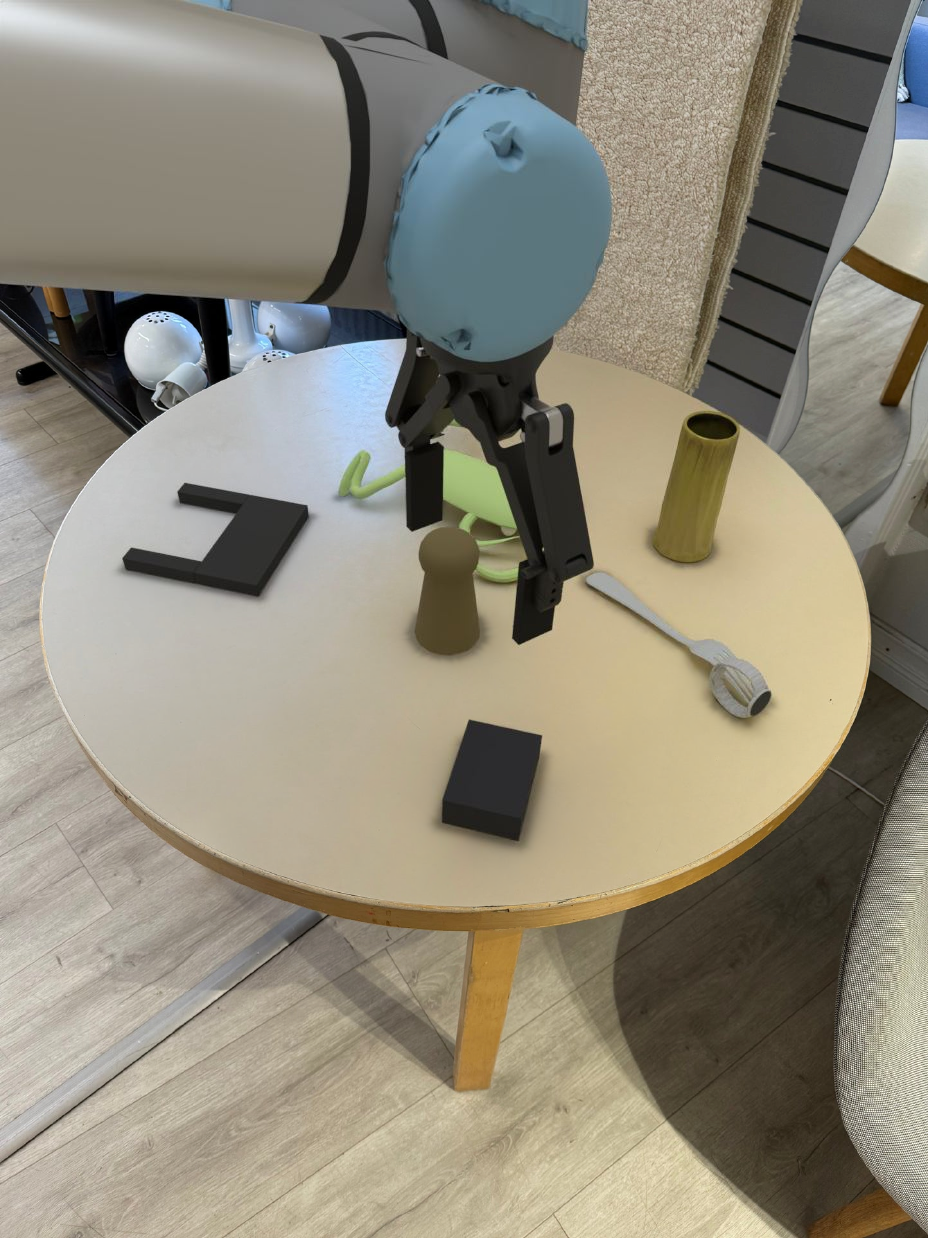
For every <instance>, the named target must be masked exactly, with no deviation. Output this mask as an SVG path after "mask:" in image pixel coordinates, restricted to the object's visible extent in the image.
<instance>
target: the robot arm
mask: <svg viewBox="0 0 928 1238" xmlns="http://www.w3.org/2000/svg"><path fill="white" fill-rule="evenodd" d="M588 14H589V0H0V285H1V284H3V285H15V286H31V287H32V286H33V287H43V288H44V287H46V288H59V289H61V288H62V289H72V290H73V289H76V290H91V291H102V292H103V291H104V292H105V291H106V292H120V293H133V294H134V293H135V294H136V293H137V294H149V295H161V296H162V295H163V296H177V297H178V296H179V297H192V298H193V297H194V298H206V299H207V298H208V299H209V298H210V299H221V300H226V299H227V300H238V301H252V302H266V303H267V302H268V303H281V304H282V303H283V304H296V305H297V304H299V305H311V306H320V307H321V306H323V307H331V308H332V307H333V308H334V307H335V308H342V309H353V310H365V311H366V310H367V311H380V312H381V311H382V312H385V313H386V312H387V313H392V314H394V315H396V316H398V318H399V321H400V322H401V323H402V324H403V326H405V327H406V341H405V351H404V355H403V358H402V360H401V364H400V366H399V370H398V373H397V376H396V379H395V382H394V385H393V388H392V391H391V394H390V397H389V401H388V404H387V406H386V410H385V412H384V418H385V419H384V420H385V423H386V424H387V425H388V427H389V428H390V429H392V428H397V430H398V433H397V437H398V441H399V443H400V446H401V447H402V448H404V465H405V477H404V478H405V519H406V523H405V525H406V528H407V529H408V530H409V531H410V532H411V533H413V532H416V531H418V530H421V529H424V528H426V527H429V526H431V525H434V524H437V523H439V522H442V521H443V520H444V499H443V470H444V449H445V446H444V445H443V444H442V443H441V442H440V441H435V442H432V443H431V441H432V440H434V439H436V438H440V437H443V436H445V433H443V432H444V430H445V429H446V428H447V427H449V426H448V425H449V424H450V423H451V422H452V421H453V420H454V419H455V421H456V422H457V423H458V424H459V425H460V426H462V427H461V428H463V427H464V429H467V430H468V431H469V432H470V433H471V435H472V436H473V437H474V439H475V440H477V441H478V442H479V444H480V447H481V449H482V453H483V456H484V458H485V462H486V463H488V464H489V465H492V466H494V467H496V469H497V471H498V474H499V477H500V480H501V483H502V486H503V489H504V491H505V494H506V497H507V500H508V503H509V506H510V509H511V512H512V515H513V518H514V521H515V524H516V527H517V530H516V531H517V533H518V536H520V538H519V539H520V542H521V544H522V547H523V550H524V553H525V556H526V559H524V560H521V561H519V562H518V567H519V568H518V579H517V580H516V589H515V600H514V601H515V602H514V611H513V621H512V623H513V624H512V633H511V639H512V640H513V641H514V642H515V643H516V644H517V646H520V645H522V644H525V643H527V642H529V641H531V640H533V639H536V638H538V637H540V636H542V635H544V634H547V633H549V632H551V631H553V626H554V617H555V610H556V607H557V606H558V605H559V604H560V603H561V601H562V597H563V591H564V590H563V589H564V583H565V582H566V581H568V580H570V579H573V578H575V577H578V576H580V575H582V574H584V573H587V572H589V571H591V570H592V569H594V565H595V562H594V555H593V551H592V545H591V539H590V534H589V528H588V523H587V522H588V521H587V517H586V512H585V511H586V510H585V506H584V505H585V504H584V502H583V501H584V499H583V494H582V489H581V484H580V478H579V472H578V467H577V460H576V455H575V449H574V432H575V413H574V410H573V408H572V406H571V404H569V403H567V402H564V403H561V404H558V405H555V406H550V405H549V404H547V403H545V401H542V400H541V399H540V396H539V392H538V391H539V390H538V386H537V378H536V377H537V372H538V370H539V369H540V366H541V365H542V363H543V362H544V361H545V359H546V358H547V357H548V355H549V354H550V352H551V351H552V348H553V345H554V340H555V339H554V337H555V335H556V334H558V332H559V331H560V330H561V329H562V328H564V326H566V324H567V323H568V322H569V321H570V320H571V319H572V318H573V317H574V315H576V313H577V311H578V310H579V309H580V308H581V306H582V305H583V304H584V302H585V301H586V299H587V297H588V296H589V295H590V292H591V291H592V289H593V287H594V285H595V282H596V279H597V276H598V273H599V270H600V268H601V266H602V265H603V263H604V257H605V251H606V249H607V248H608V245H609V240H610V237H611V230H612V220H613V203H612V200H613V199H612V193H611V185H610V182H609V177H608V174H607V170H606V168H605V166H604V164H603V163H604V162H603V161H602V158H601V156H600V154H599V153H598V151H597V150H596V148H595V146H594V145H593V143H592V142H591V140H590V139H589V138H588V137H587V136H586V135H585V134H584V132H582V131H581V130H580V129H579V127H577V120H578V119H577V118H578V111H579V103H580V94H581V87H582V77H583V70H584V63H585V62H584V61H585V53H586V52H588V46H589V41H588V37H587V28H588ZM519 431H521V432H520V434H519V438H520V440H521V442H518V443H516V444H512V445H510V446H506V447H503V446H501V444H500V442H502V441H505V440H507V439H511V438H513V437H514V436H515V435H516V434H517V433H518V432H519ZM543 548H544V551H543Z"/></svg>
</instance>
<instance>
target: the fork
mask: <svg viewBox="0 0 928 1238" xmlns="http://www.w3.org/2000/svg"><path fill="white" fill-rule="evenodd" d="M585 582H586V584H587V585H588V586H591V587H592V588H594V589H596V590H597V591H599V592H601V593H603V594H604V595H606V596H609V598H611V599H613V600H614V601H616V602H618V603H620V604H622V605H623V606H625V607H627V608H628V609H630V610H631V611H633V612H634V613H636V614H637V615H639V616H641V617H642V618H644V619H646V620H647V621H649V622H650V623H651V624H653V625H654V626H655V627H657V628H658V629H660V630H661V631H662V632H664V633H666V635H668V636H670V637H672V638H673V639H675V640H676V641H678V642H679V643H681V644H684V645H686V646H688V648H689V649H690V650H689V651H690V652H691V653H692V654H693V655H696V656H698V657H699V658H702V659H704V660H705V661H706V662H708V663H710V664H711V665H712V666H713V667H714V665H716V664H717V663H719V662H721V661H722V660H724V659H725V658H727V657H736V658H738V657H737V655H735V653H733V651H732V650H731V648H729V647H728V646H727V645H726V644H724V643H722V642H721V641H718V640H715V639H713V638H712V639H711V638H710V639H709V638H707V639H701V640H694V639H691V638H688V637H686V636H685V635H683V634H681V633H680V632H678V631H677V630H676V629H674V628H673V627H672V626H670V625H669V624H668V623H667V622H665V621H664V620H663V619H662V618H660V617H659V616H657V615H656V614H655V613H654V612H653V611H652V610H651V609H649V608H648V607H647V606H646V605H645V604H644V603H643V602H641V600H639V599H638V598H637V597H636V595H634V594H633V593H632V592H631V591H630V590H629V589H628V588H627V587H625V585H623V584H622V583H621V582H620V581H618V580H617V579H616V578H615V577H613V576H611V575H610V574H607V573H606V572H600V571H599V572H593V573H592V574H591V575H588V576H587V577H586V578H585ZM722 677H724V678H725V679H726V680H727V682H728V683H729V684H730V685H731V686H732V687H733V688H734V689H735V691H736V692H737V693H738V694H739V695H740V696H741V697H742V698H743V700H744V701H745V702H746V703H747V705H749V703H750V700H751V699H752V696H753V691H754V689H753V687H752V685H751V683H750V682H749V680H748V679H747V678H746V676H744V675H743V674H742V673H740V671H737V670H736V669H734V668H731V667H727V666H726V671H725V673H723V675H722ZM745 685H746V686H745ZM741 689H742V690H743V691H744V692H743V691H742V690H741ZM749 690H750V691H749ZM750 692H751V693H752V694H751V693H750ZM744 693H746V695H747V696H748V697H749V698H750V700H749V699H748V698H747V696H746V695H745V694H744Z"/></svg>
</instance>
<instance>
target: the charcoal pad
mask: <svg viewBox="0 0 928 1238" xmlns="http://www.w3.org/2000/svg"><path fill="white" fill-rule="evenodd" d="M542 741H543V735H542V734H538V733H535V732H534V733H533V732H529V731H524V730H519V729H515V728H510V727H506V726H502V725H501V726H500V725H498V724H497V725H496V724H492V723H488V722H483V721H479V720H473V719H468V721H467V724H466V726H465V730H464V733H463V736H462V739H461V742H460V745H459V748H458V751H457V754H456V757H455V759H454V764H453V765H452V769H451V772H450V775H449V778H448V781H447V784H446V787H445V791H444V794H443V796H442V799H441V802H442V803H441V805H442V806H441V823H442V824H446V825H450V826H455V827H458V828H463V829H466V830H470V831H471V830H472V831H476V832H480V833H484V834H488V835H493V836H496V837H500V838H505V839H509V840H514V841H520V838H521V835H522V829H523V825H524V821H525V818H526V813H527V809H528V805H529V801H530V797H531V792H532V789H533V785H534V781H535V777H536V773H537V768H538V765H539V761H540V754H541V749H542V748H541V747H542Z"/></svg>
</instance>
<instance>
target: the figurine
mask: <svg viewBox="0 0 928 1238" xmlns="http://www.w3.org/2000/svg"><path fill="white" fill-rule="evenodd" d="M447 427H457V428H464V427H462V426H460V425H459V424H458V423H457V422H456V421H455V419H454V420H453V421H452V422H451V423H450V424H449V425H448V426H447ZM464 429H465V428H464ZM371 458H372V457H371V454H370V453H369V452H368V451H366V450H364V449H361V450H360V451H358V453H357V454H356V455H355V456H354V457H353V458H352V460H351V461H350V462H349V464H348V466H347V468H346V469H345V471H344V473H343V475H342V478H341V480H340V484H339V487H338V494H339V496H341V497H346V496H347V495H349V494H348V493H349V492H350V495H351V496H352V497H354V498H356V499H357V500H363V499H366V498H370V496H372V495H374V494H376V493H378V492H379V491H382V490H384V489H386V488H388V487H390V486H392V485H394V484H395V483H398V482H399V481H401V480H402V479H404V478H405V464H402V465H400V466H399V467H397V468H395V470H393V471H391V472H389V473H387V474H385V475H383V476H381V477H378V478H376V479H375V480H373V481H371V482H369V483H368V484H365V485H364V486H362V480H363V478H364V475H365V473H366V472H367V471H366V470H367V468H368V466H369V464H370V461H371V460H372V459H371ZM443 501H444V502H447V504H449V505H451V506H453V507H454V508H457V509H458V510H461V511H463V512H465V513H466V514H465V515H464V516H463V518H462V520H461V521H460V522H459V524H458V528H460V529H463V530H465V531H467V532H468V533H470V534H471V527H472V525H473V524H474V523H475V522H476V521H477V520H478V519H480V520H482V521H485V522H488V523H491V524H493V525H496V526H499V527H500V530H501V533H502V534H503V535H505V536H506V538H500V539H493V540H492V539H491V540H484V541H483V540H482V541H481V540H479V539H475V540H476V542H477V545H478V548H479V547H489V546H495V545H498V544H502V543H504V542H508V541H510V540H513V539H520V536H519V535H518V536H517V535H515V534H516V532H517V531H518V530H517V527H516V524H515V521H514V518H513V515H512V512H511V509H510V506H509V503H508V500H507V497H506V494H505V491H504V489H503V486H502V483H501V480H500V477H499V474H498V471H497V469H496V467H494V466H492V465H489V464H488V463H487V461H484V460H482V459H479V458H477V457H473V456H470V455H468V454H465V453H462V452H459V451H456V450H451V449H445V448H444V470H443ZM513 535H515V536H513ZM511 536H512V537H511ZM543 551H544V548H543ZM518 568H519V566H516V567H513V568H512V569H508V570H504V571H503V570H495V569H491V568H488V567H485V566H484V565H482V564H481V563H479V562H478V565H477V568H476V569H475V572H476V573H477V575H479V576H481V577H482V578H484V579H486V580H488V581H492V582H496V583H510V582H515V581H517V579H518Z"/></svg>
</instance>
